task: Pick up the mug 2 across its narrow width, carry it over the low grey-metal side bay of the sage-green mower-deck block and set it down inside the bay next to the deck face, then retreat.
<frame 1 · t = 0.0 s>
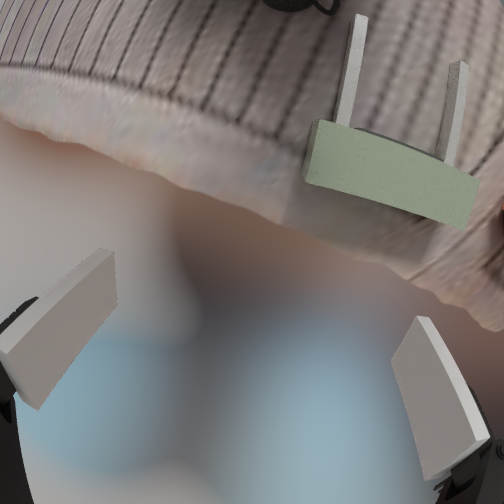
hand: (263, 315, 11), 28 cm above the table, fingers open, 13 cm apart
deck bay: (391, 145, 33), on the table
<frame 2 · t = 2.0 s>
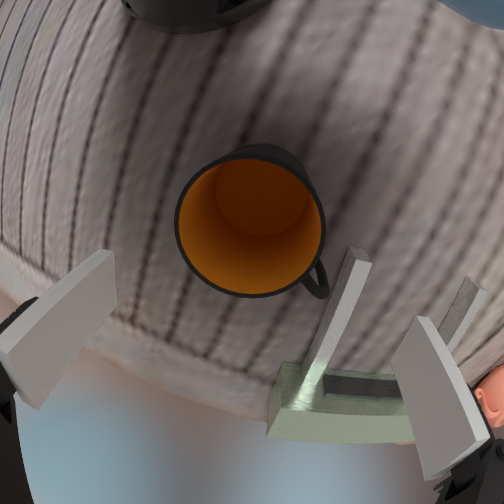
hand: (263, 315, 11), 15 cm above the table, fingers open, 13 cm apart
mug 2: (276, 206, 25), on the table
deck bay: (365, 372, 32), on the table
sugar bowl: (490, 379, 33), on the table
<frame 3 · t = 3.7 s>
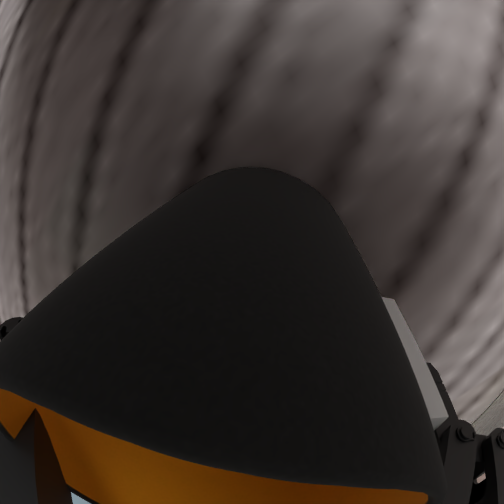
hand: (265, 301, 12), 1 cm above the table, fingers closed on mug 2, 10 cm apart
mug 2: (281, 290, 13), on the table, touching gripper
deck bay: (384, 465, 20), on the table
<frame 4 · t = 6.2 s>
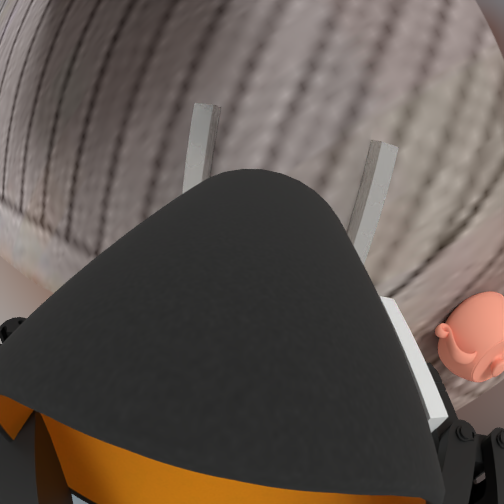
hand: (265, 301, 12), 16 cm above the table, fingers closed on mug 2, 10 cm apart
mug 2: (281, 291, 13), point 15 cm above the table, touching gripper
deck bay: (264, 276, 30), on the table
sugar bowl: (463, 319, 30), on the table
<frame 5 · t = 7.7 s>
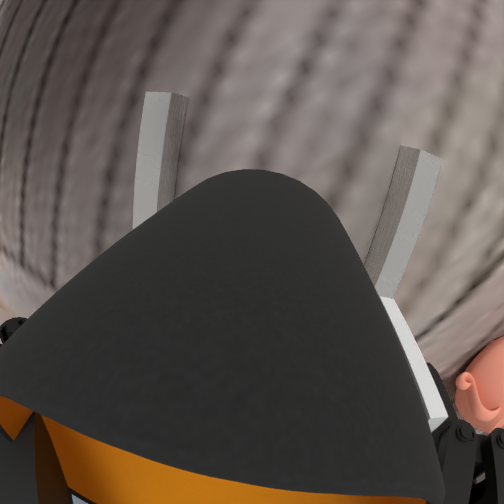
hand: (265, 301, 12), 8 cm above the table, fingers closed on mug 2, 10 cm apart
mug 2: (281, 291, 13), point 7 cm above the table, touching gripper
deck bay: (250, 324, 23), on the table
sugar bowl: (484, 361, 23), on the table
when the fingers open (4 cm above the table, at t = 9.0 s): mug 2 drops 3 cm, on the table.
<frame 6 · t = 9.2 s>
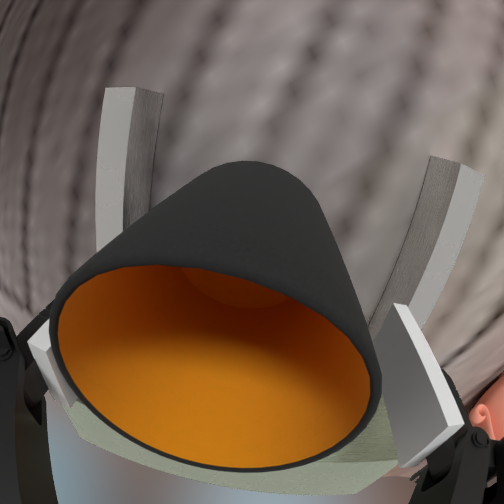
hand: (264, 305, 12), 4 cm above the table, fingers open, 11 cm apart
mug 2: (271, 262, 16), on the table, touching gripper
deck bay: (244, 365, 19), on the table
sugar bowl: (498, 387, 19), on the table
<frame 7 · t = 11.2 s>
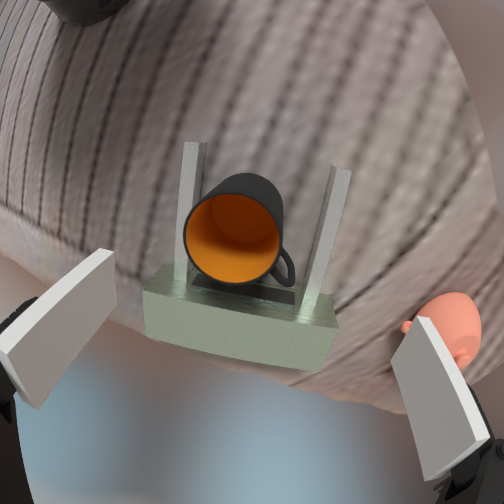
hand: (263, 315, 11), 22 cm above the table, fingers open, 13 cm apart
mug 2: (258, 219, 33), on the table
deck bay: (246, 280, 36), on the table
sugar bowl: (431, 318, 36), on the table
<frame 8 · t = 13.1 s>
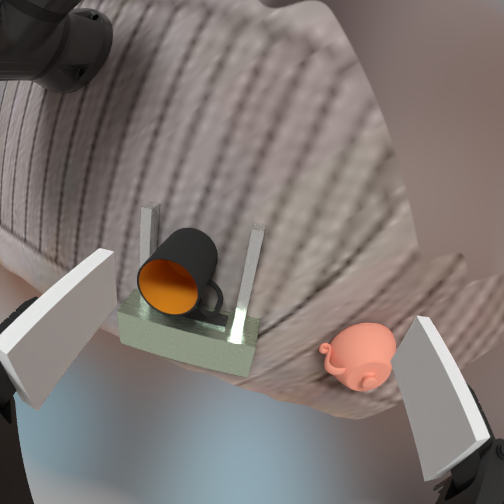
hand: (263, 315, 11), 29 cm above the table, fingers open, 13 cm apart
mug 2: (200, 261, 44), on the table
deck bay: (194, 304, 47), on the table
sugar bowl: (354, 340, 47), on the table
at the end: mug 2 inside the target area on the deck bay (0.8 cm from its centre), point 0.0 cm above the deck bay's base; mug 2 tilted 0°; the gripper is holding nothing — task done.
